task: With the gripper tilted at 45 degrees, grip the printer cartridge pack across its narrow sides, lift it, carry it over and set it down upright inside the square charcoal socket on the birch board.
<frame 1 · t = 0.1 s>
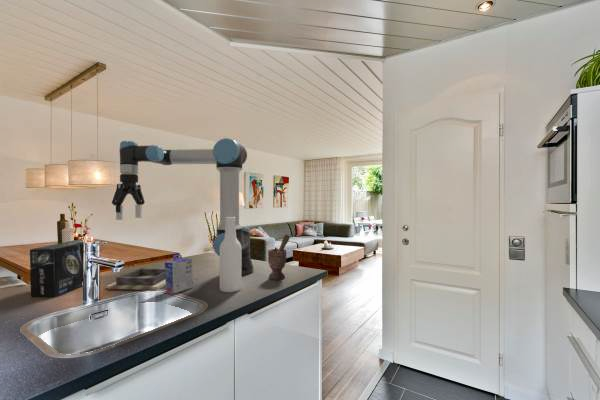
hand: (129, 218, 140), 28 cm above the worktop, tool pointing down, fingers open, 13 cm apart
alcohol: (230, 289, 122), on the worktop
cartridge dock: (146, 282, 132), on the worktop
ink cartridge box: (179, 290, 121), on the worktop
box: (67, 289, 123), on the worktop
mortar and pestle: (278, 277, 140), on the worktop
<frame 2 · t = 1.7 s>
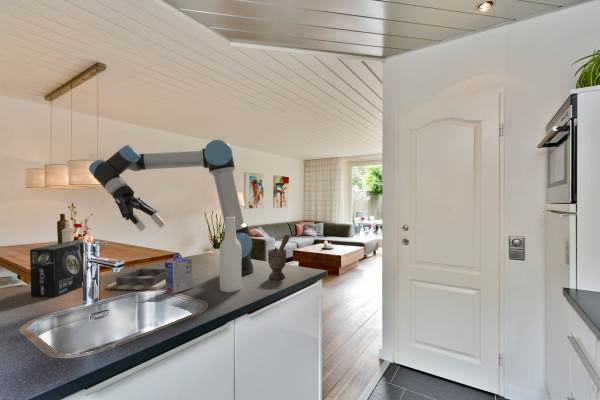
hand: (154, 227, 122), 26 cm above the worktop, tool tilted 45°, fingers open, 13 cm apart
nothing on the worktop moved.
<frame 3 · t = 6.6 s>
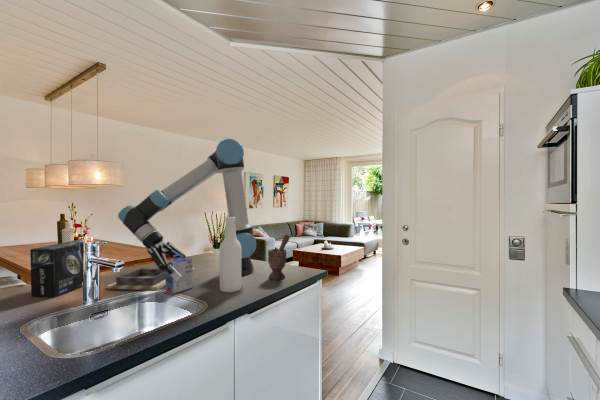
hand: (186, 275, 121), 6 cm above the worktop, tool tilted 45°, fingers closed on ink cartridge box, 11 cm apart
ink cartridge box: (179, 290, 121), on the worktop, touching gripper
everything else where it was.
when the fingers open (9 cm above the worktop, at t = 14.5 s): ink cartridge box drops 1 cm, resting on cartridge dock.
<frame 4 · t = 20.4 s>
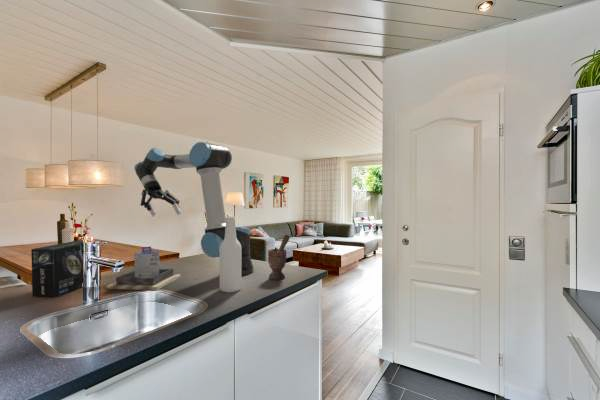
hand: (167, 214, 149), 30 cm above the worktop, tool tilted 45°, fingers open, 13 cm apart
ink cartridge box: (147, 279, 132), point 1 cm above the worktop, touching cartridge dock
at the end: ink cartridge box 0.4 cm off-centre on the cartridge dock, point 1.0 cm above the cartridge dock's base; ink cartridge box tilted 0°; the gripper is holding nothing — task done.
